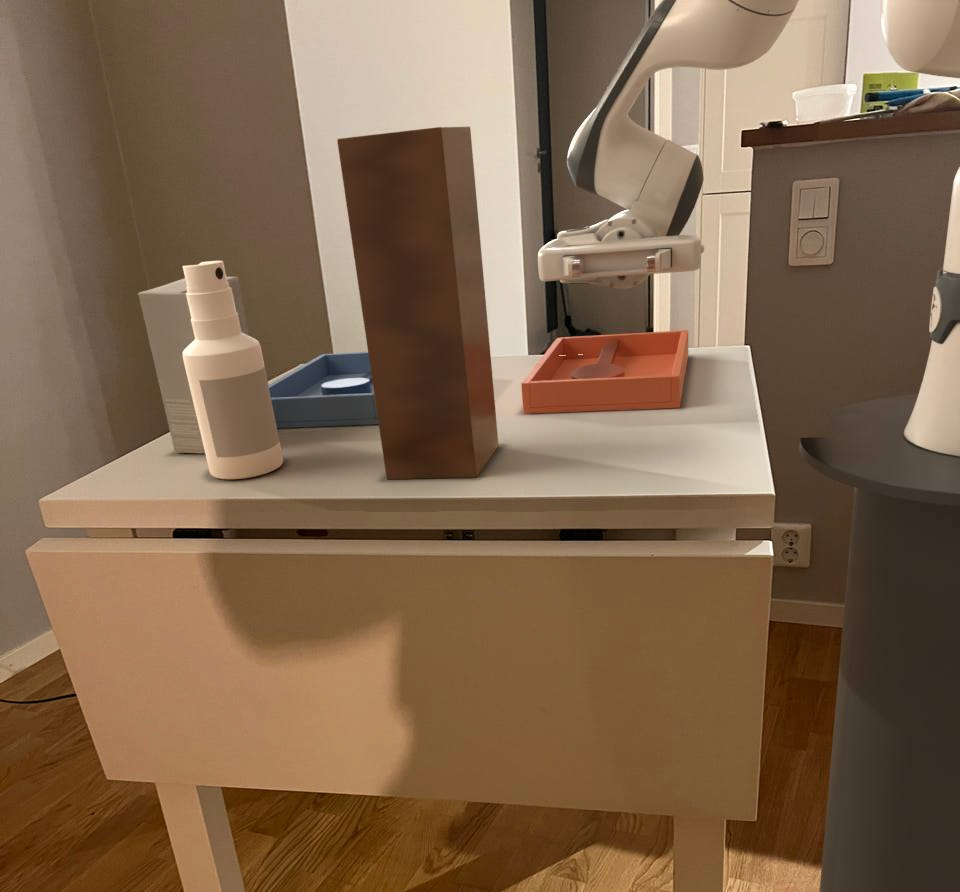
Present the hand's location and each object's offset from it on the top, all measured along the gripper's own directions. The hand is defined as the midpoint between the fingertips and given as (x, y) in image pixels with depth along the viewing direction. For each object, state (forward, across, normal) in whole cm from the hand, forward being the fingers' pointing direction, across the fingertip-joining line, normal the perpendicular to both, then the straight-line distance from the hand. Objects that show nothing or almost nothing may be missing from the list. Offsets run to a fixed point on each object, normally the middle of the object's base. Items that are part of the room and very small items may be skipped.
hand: (613, 266), depth 114 cm
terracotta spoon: (+13, 0, -9) cm, 16 cm away
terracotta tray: (+15, -1, -10) cm, 18 cm away
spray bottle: (+43, +30, -10) cm, 54 cm away
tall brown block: (+43, +11, -10) cm, 45 cm away
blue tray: (+17, +29, -10) cm, 35 cm away
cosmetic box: (+34, +37, -10) cm, 51 cm away
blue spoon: (+12, +29, -10) cm, 33 cm away
